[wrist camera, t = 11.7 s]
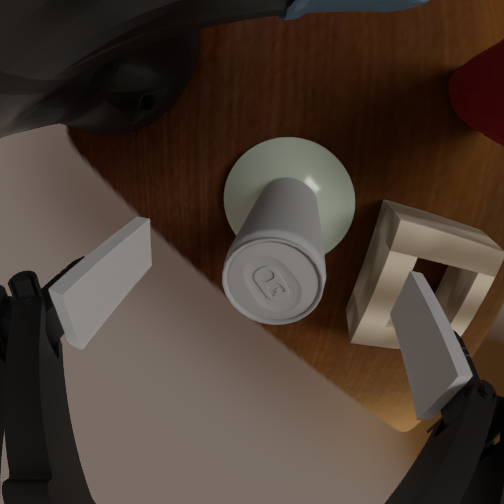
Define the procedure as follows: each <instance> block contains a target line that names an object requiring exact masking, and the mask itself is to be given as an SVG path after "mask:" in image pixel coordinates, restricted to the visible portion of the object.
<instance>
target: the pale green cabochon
mask: <svg viewBox="0 0 504 504" xmlns="http://www.w3.org/2000/svg"><path fill="white" fill-rule="evenodd" d="M283 177H290V178H295V179H297V180H299V181H302V182H303V183H305V184H306V185H307V186H309V187H310V189H311V190H312V191H313V192H314V194H315V196H316V198H317V203H318V210H319V217H320V225H321V233H322V241H323V249H324V254H326V253H327V252H329V251H331V250H332V249H333V248H334V247H335V246H336V245H337V244H338V243H339V242H340V241H341V240H342V239H343V237H344V236H345V235H346V233H347V231H348V229H349V227H350V225H351V222H352V220H353V216H354V211H355V193H354V188H353V184H352V182H351V179H350V176H349V175H348V173H347V171H346V169H345V168H344V166H343V165H342V164H341V162H340V161H339V160H338V159H337V158H336V157H335V156H334V155H333V154H332V153H331V152H330V151H329V150H327V149H326V148H324V147H323V146H321V145H319V144H317V143H315V142H313V141H310V140H307V139H303V138H297V137H279V138H274V139H270V140H267V141H264V142H262V143H260V144H258V145H256V146H254V147H253V148H251V149H250V150H248V151H247V152H246V153H245V154H243V155H242V156H241V157H240V159H239V160H238V161H237V162H236V163H235V165H234V166H233V168H232V169H231V171H230V173H229V176H228V178H227V181H226V184H225V190H224V208H225V213H226V217H227V219H228V222H229V224H230V226H231V228H232V230H233V232H234V233H235V235H236V236H237V234H238V232H239V231H240V229H241V227H242V225H243V223H244V222H245V220H246V218H247V216H248V214H249V213H250V211H251V209H252V207H253V206H254V204H255V202H256V200H257V199H258V197H259V195H260V194H261V192H262V190H263V189H264V188H265V186H266V185H267V184H269V183H270V182H271V181H273V180H275V179H278V178H283Z"/></svg>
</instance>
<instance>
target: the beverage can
mask: <svg viewBox="0 0 504 504" xmlns="http://www.w3.org/2000/svg"><path fill="white" fill-rule="evenodd" d="M325 281H326V268H325V258H324V249H323V241H322V233H321V225H320V217H319V210H318V203H317V198H316V196H315V194H314V192H313V191H312V190H311V189H310V187H309V186H307V185H306V184H305V183H303V182H302V181H299V180H297V179H295V178H290V177H283V178H278V179H275V180H273V181H271V182H270V183H269V184H267V185H266V186H265V188H264V189H263V190H262V192H261V194H260V195H259V197H258V199H257V200H256V202H255V204H254V206H253V207H252V209H251V211H250V213H249V214H248V216H247V218H246V220H245V222H244V223H243V225H242V227H241V229H240V231H239V232H238V234H237V236H236V238H235V240H234V242H233V243H232V245H231V247H230V249H229V251H228V253H227V256H226V259H225V262H224V269H223V272H222V284H223V288H224V291H225V294H226V296H227V298H228V299H229V301H230V303H231V304H232V305H233V306H234V307H235V308H236V309H237V310H238V311H239V312H240V313H242V314H243V315H245V316H246V317H248V318H250V319H252V320H255V321H257V322H260V323H265V324H272V325H278V324H288V323H291V322H295V321H298V320H300V319H302V318H304V317H305V316H307V315H308V314H309V313H310V312H312V311H313V310H314V309H315V308H316V306H317V305H318V303H319V301H320V300H321V297H322V293H323V289H324V285H325Z"/></svg>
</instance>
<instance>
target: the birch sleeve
mask: <svg viewBox="0 0 504 504" xmlns="http://www.w3.org/2000/svg"><path fill="white" fill-rule="evenodd" d="M417 258H423V259H427V260H431V261H435V262H439V263H443V264H447V265H448V267H447V269H446V271H445V274H444V276H443V278H442V280H441V282H440V284H439V286H438V288H437V290H436V292H435V294H434V295H435V297H436V298H437V300H438V302H439V304H440V306H441V308H442V310H443V311H444V313H445V315H446V317H447V319H448V321H449V323H450V325H451V327H452V329H453V331H456V332H457V333H458V335H459V336H460V337H461V336H462V334H463V333H464V331H465V330H466V328H467V327H468V325H469V323H470V322H471V320H472V318H473V317H474V315H475V313H476V312H477V310H478V308H479V307H480V305H481V303H482V301H483V299H484V298H485V296H486V294H487V292H488V290H489V288H490V286H491V284H492V282H493V280H494V278H495V276H496V274H497V272H498V270H499V268H500V266H501V263H502V261H503V259H504V251H503V250H502V249H501V248H500V247H499V246H498V245H497V244H496V243H495V242H494V241H493V240H491V239H490V238H489V237H488V236H487V235H486V234H485V233H483V232H482V231H481V230H479V229H476V228H473V227H470V226H468V225H465V224H462V223H459V222H456V221H453V220H450V219H447V218H444V217H441V216H438V215H435V214H432V213H429V212H426V211H422V210H419V209H416V208H412V207H409V206H406V205H402V204H399V203H395V202H392V201H388V200H384V199H383V202H382V206H381V209H380V213H379V216H378V219H377V223H376V226H375V229H374V232H373V235H372V238H371V242H370V245H369V248H368V251H367V253H366V256H365V259H364V262H363V265H362V268H361V271H360V273H359V276H358V279H357V281H356V284H355V287H354V289H353V292H352V294H351V297H350V299H349V302H348V304H347V307H346V315H347V322H348V329H349V337H350V343H355V344H362V345H370V346H378V347H386V348H395V349H400V345H399V342H398V339H397V335H396V332H395V328H394V325H393V322H392V319H391V316H390V312H391V310H392V308H393V306H394V304H395V302H396V300H397V298H398V296H399V294H400V292H401V290H402V287H403V285H404V283H405V281H406V279H407V276H408V274H409V272H410V271H412V270H413V267H414V265H415V263H416V260H417Z"/></svg>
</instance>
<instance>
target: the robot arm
mask: <svg viewBox="0 0 504 504" xmlns="http://www.w3.org/2000/svg"><path fill="white" fill-rule="evenodd" d="M427 1H429V0H0V138H1V137H4V136H8V135H12V134H15V133H19V132H23V131H27V130H31V129H35V128H40V127H44V126H48V125H53V124H58V123H60V124H64V125H67V126H71V127H74V128H78V129H81V130H84V131H88V132H91V133H95V134H117V133H122V132H128V131H132V130H136V129H138V128H141V127H143V126H145V125H147V124H149V123H151V122H152V121H154V120H156V119H157V118H158V117H160V116H161V115H162V114H163V113H165V112H166V111H167V110H168V109H169V108H170V107H171V106H172V105H173V103H174V102H175V101H176V100H177V99H178V97H179V96H180V95H181V93H182V92H183V90H184V89H185V87H186V85H187V83H188V81H189V79H190V77H191V75H192V73H193V70H194V67H195V64H196V60H197V55H198V48H199V35H198V30H200V29H204V28H208V27H212V26H217V25H221V24H226V23H231V22H236V21H242V20H248V19H255V18H262V17H270V16H278V18H279V20H292V19H297V18H299V17H301V16H302V15H303V14H305V13H317V12H338V11H364V12H394V11H401V10H405V9H410V8H413V7H416V6H419V5H422V4H424V3H425V2H427ZM150 238H151V237H150V219H147V218H142V217H136V218H135V219H133V220H132V221H131V222H129V223H128V224H127V225H125V226H124V227H123V228H121V229H120V230H119V231H117V232H116V233H115V234H113V235H112V236H111V237H109V238H108V239H107V240H106V241H104V242H103V243H102V244H101V245H99V246H98V247H97V248H96V249H94V250H93V251H92V252H91V253H89V254H88V255H87V256H86V257H81V258H79V259H77V260H75V261H73V262H72V263H71V264H69V265H68V266H67V267H66V269H64V270H62V271H61V272H60V274H58V275H56V276H55V277H54V278H53V279H52V280H51V281H50V282H48V283H47V284H46V285H45V286H44V287H43V288H42V289H41V288H40V284H39V281H38V278H37V275H36V274H35V272H33V271H23V272H19V273H17V274H16V275H14V276H13V277H12V278H11V279H10V280H9V282H8V285H9V288H10V291H11V293H12V296H13V297H11V296H8V295H7V293H6V290H5V288H4V287H3V286H1V285H0V472H1V456H2V444H3V436H4V429H5V442H6V452H7V459H8V466H9V479H7V480H6V481H4V482H3V485H2V495H3V500H4V504H96V503H95V502H94V500H93V499H92V497H91V495H90V492H89V489H88V486H87V483H86V480H85V476H84V473H83V470H82V467H81V463H80V459H79V455H78V451H77V447H76V443H75V439H74V434H73V430H72V424H71V419H70V414H69V408H68V401H67V394H66V386H65V378H64V368H63V353H62V344H61V340H60V338H61V336H62V335H63V334H65V336H66V338H67V341H68V343H69V344H71V345H73V346H75V347H77V348H79V349H81V350H83V349H84V347H85V346H86V345H87V343H88V342H89V341H90V340H91V338H92V337H93V336H94V334H95V333H96V332H97V331H98V329H99V328H100V327H101V325H102V324H103V323H104V322H105V320H106V319H107V318H108V317H109V316H110V314H111V313H112V312H113V311H114V309H115V308H116V307H117V306H118V305H119V303H120V302H121V301H122V300H123V299H124V297H125V296H126V295H127V294H128V293H129V292H130V290H131V289H132V288H133V287H134V286H135V284H136V283H137V282H138V281H139V280H140V279H141V277H142V276H143V275H144V274H145V273H146V272H147V271H148V270H149V268H150V267H151V266H152V259H151V258H152V257H151V239H150ZM390 316H391V319H392V322H393V325H394V328H395V332H396V335H397V339H398V342H399V345H400V349H401V353H402V356H403V360H404V364H405V368H406V372H407V376H408V380H409V384H410V388H411V393H412V397H413V402H414V407H415V412H416V417H417V420H423V419H432V418H433V417H434V416H435V415H436V414H437V413H438V412H439V411H441V415H442V418H441V419H439V420H438V421H437V422H436V423H435V424H434V425H433V426H432V427H431V428H429V429H428V431H427V433H429V432H430V431H431V430H433V431H432V433H431V435H430V437H429V438H428V440H427V442H426V444H425V446H424V447H423V449H422V450H421V452H420V454H419V455H418V457H417V459H416V460H415V462H414V463H413V465H412V466H411V468H410V469H409V471H408V472H407V474H406V476H405V477H404V478H403V480H402V481H401V483H400V484H399V485H398V487H397V488H396V489H395V491H394V492H393V493H392V495H391V496H390V497H389V499H388V500H387V501H386V503H385V504H504V397H500V396H498V395H496V391H495V389H494V388H493V386H492V385H491V384H490V383H489V382H487V381H485V380H480V379H479V376H478V374H477V372H476V369H475V367H474V364H473V362H472V359H471V357H470V356H469V353H468V350H467V349H466V346H465V344H464V342H463V340H462V338H461V337H460V336H459V335H458V333H457V332H456V331H453V329H452V327H451V325H450V323H449V321H448V319H447V317H446V315H445V313H444V311H443V310H442V308H441V306H440V304H439V302H438V300H437V298H436V297H435V295H434V293H433V291H432V289H431V288H430V286H429V284H428V282H427V281H426V279H425V277H424V276H423V274H422V273H419V272H414V271H410V272H409V274H408V276H407V279H406V281H405V283H404V285H403V287H402V290H401V292H400V294H399V296H398V298H397V300H396V302H395V304H394V306H393V308H392V310H391V312H390ZM498 436H500V441H499V442H498V443H497V444H496V445H494V440H495V439H496V438H497V437H498Z"/></svg>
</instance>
